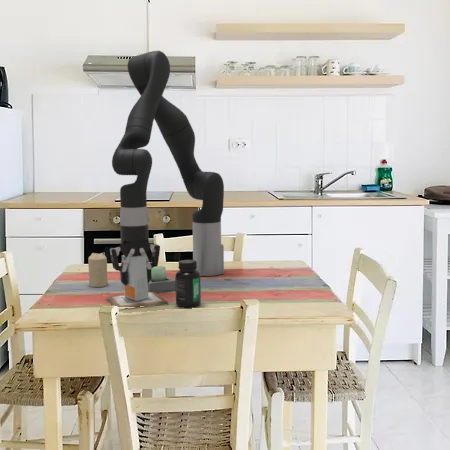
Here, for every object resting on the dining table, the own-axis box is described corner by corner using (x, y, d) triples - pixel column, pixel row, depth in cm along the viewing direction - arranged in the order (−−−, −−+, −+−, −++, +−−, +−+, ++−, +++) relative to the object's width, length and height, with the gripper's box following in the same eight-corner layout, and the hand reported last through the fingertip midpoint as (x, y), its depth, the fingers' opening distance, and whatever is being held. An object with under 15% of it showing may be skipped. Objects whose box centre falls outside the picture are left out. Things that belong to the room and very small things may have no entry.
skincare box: (124, 297, 186) (120, 255, 184) (136, 294, 188) (133, 252, 186) (136, 301, 181) (133, 258, 179) (149, 298, 184) (146, 255, 182)
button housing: (167, 284, 204) (166, 275, 204) (175, 290, 197) (175, 280, 196) (141, 287, 201) (141, 277, 200) (149, 293, 194) (149, 283, 193)
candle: (108, 282, 207) (107, 251, 206) (106, 287, 202) (105, 254, 200) (90, 283, 207) (89, 251, 206) (87, 287, 202) (86, 254, 200)
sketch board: (154, 294, 193) (154, 290, 193) (167, 304, 182) (167, 300, 182) (106, 299, 187) (106, 296, 187) (117, 310, 177) (117, 306, 176)
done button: (163, 279, 201) (162, 265, 201) (167, 283, 197) (167, 268, 197) (149, 281, 200) (148, 267, 199) (153, 284, 196) (153, 269, 195)
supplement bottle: (203, 307, 179) (202, 263, 177) (177, 309, 177) (176, 264, 176) (198, 300, 185) (198, 258, 184) (174, 302, 184) (173, 259, 182)
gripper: (155, 219, 188) (156, 278, 190) (104, 222, 182) (107, 283, 185) (163, 222, 181) (165, 283, 184) (111, 226, 175) (114, 289, 178)
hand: (136, 283), depth 184 cm, fingers open, 5 cm apart
